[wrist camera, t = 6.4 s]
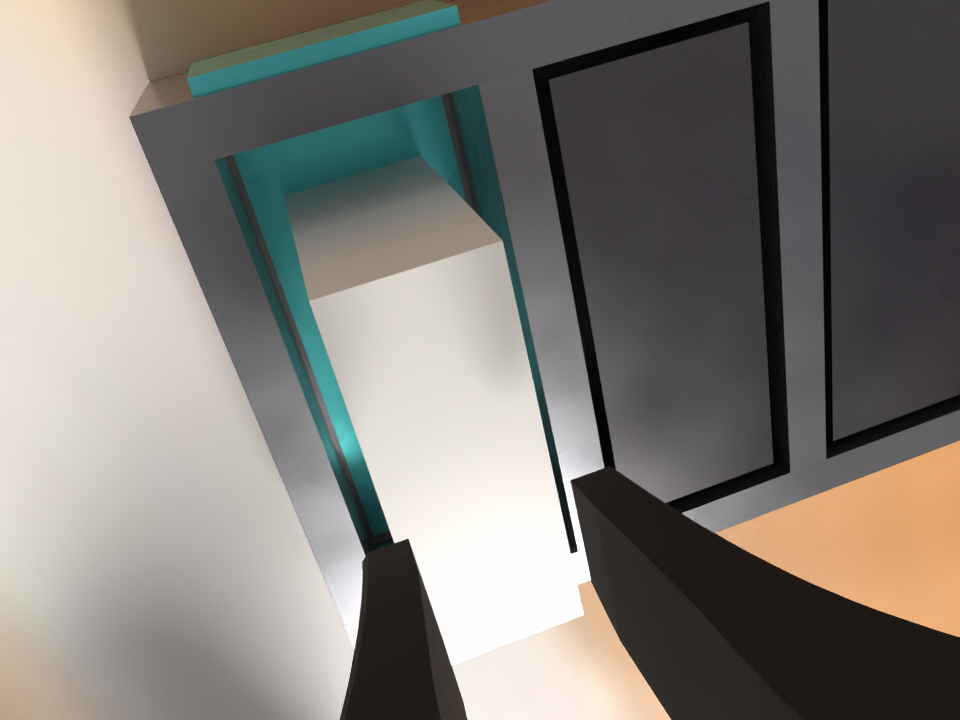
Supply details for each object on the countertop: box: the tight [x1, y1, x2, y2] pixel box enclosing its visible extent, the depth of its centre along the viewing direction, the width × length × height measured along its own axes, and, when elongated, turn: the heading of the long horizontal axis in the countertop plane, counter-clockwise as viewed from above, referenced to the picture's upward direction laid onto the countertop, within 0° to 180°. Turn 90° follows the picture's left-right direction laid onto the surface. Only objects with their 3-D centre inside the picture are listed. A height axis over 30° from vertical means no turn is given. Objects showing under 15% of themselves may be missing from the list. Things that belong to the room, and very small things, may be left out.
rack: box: [129, 0, 960, 650], centre depth 19 cm, size 18×13×4 cm
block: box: [284, 156, 584, 666], centre depth 17 cm, size 3×8×6 cm, turn 12°
